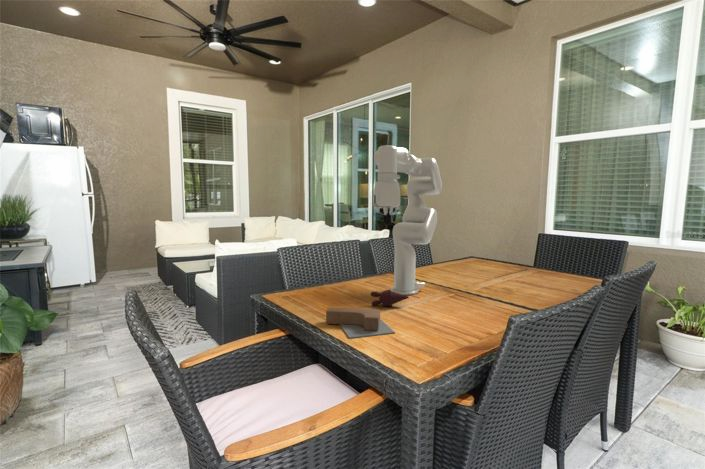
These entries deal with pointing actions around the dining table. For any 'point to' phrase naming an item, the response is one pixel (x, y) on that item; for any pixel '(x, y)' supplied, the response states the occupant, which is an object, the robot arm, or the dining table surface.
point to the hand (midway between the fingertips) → (386, 224)
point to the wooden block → (354, 317)
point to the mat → (359, 331)
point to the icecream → (387, 298)
